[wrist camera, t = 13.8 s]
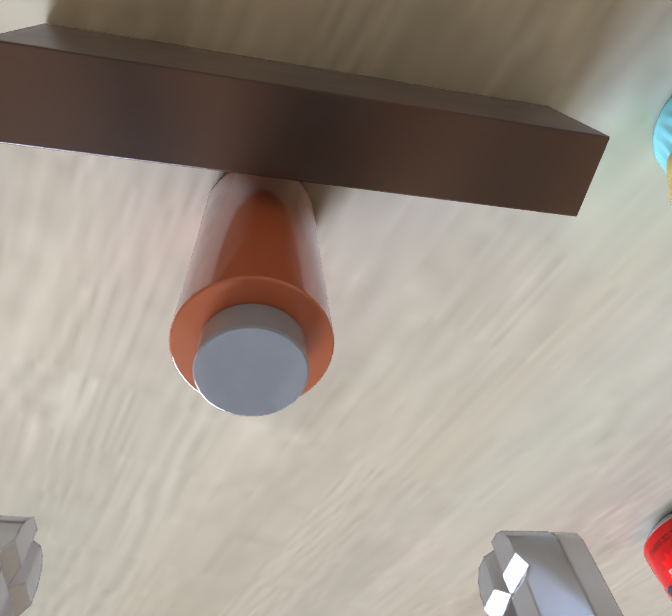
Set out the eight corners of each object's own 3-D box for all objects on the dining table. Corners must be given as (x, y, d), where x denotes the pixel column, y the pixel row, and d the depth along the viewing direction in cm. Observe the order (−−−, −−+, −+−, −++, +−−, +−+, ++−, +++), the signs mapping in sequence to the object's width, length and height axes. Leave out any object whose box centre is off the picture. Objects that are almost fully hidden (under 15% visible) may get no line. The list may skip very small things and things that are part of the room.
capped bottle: (320, 172, 23) (352, 308, 14) (305, 269, 26) (324, 441, 16) (208, 157, 23) (160, 291, 13) (203, 258, 25) (161, 433, 16)
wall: (548, 105, 23) (611, 136, 19) (524, 174, 24) (576, 217, 20) (43, 22, 19) (-21, 37, 15) (52, 108, 21) (-3, 143, 17)
